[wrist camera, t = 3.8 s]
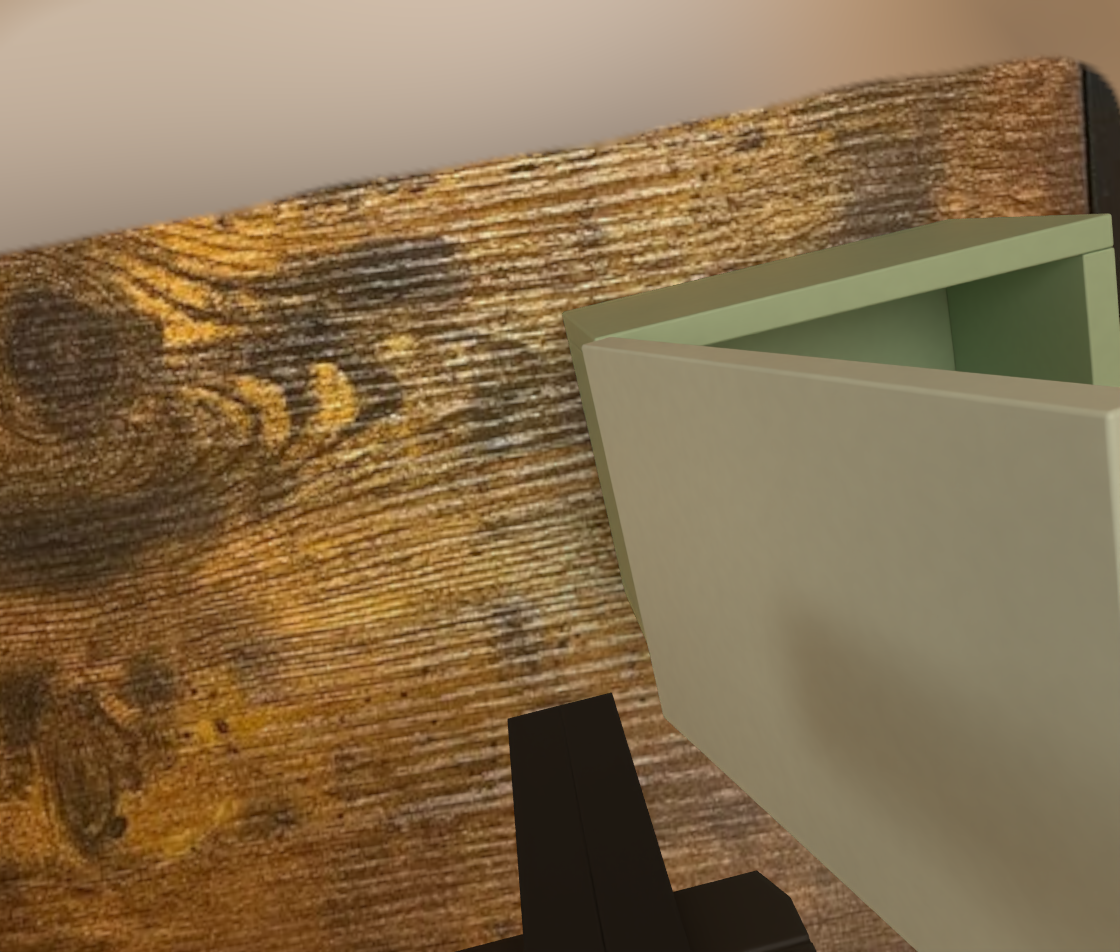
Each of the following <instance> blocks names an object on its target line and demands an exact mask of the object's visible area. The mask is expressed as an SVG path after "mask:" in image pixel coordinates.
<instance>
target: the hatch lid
mask: <svg viewBox="0 0 1120 952" xmlns="http://www.w3.org/2000/svg"><path fill="white" fill-rule="evenodd" d="M582 352H583V356H584V361H585V365H586V370H587V374H588V379H589V383H590V388H591V392H592V397H593V401H594V406H595V410H596V415H597V419H598V424H599V428H600V433H601V437H602V442H603V446H604V451H605V455H606V460H607V464H608V469H609V473H610V478H611V482H612V487H613V491H614V496H615V500H616V505H617V509H618V514H619V518H620V523H621V527H622V532H623V536H624V541H625V545H626V550H627V554H628V559H629V563H630V568H631V572H632V577H633V581H634V586H635V590H636V595H637V599H638V604H639V608H640V613H641V617H642V622H643V626H644V631H645V635H646V640H647V644H648V649H649V653H650V658H651V662H652V667H653V671H654V676H655V680H656V685H657V689H658V694H659V698H660V703H661V707H662V712H663V716H664V718H665V719H666V720H667V721H669V722H670V723H671V724H672V725H673V726H674V727H675V728H676V729H677V730H678V731H679V732H680V733H682V734H683V735H684V736H685V737H686V738H687V739H688V740H689V741H690V742H691V743H692V744H693V745H694V746H696V747H697V748H698V749H699V750H700V751H701V752H702V753H703V754H704V755H705V756H706V757H707V758H709V759H710V760H711V761H712V762H713V763H714V764H715V765H716V766H717V767H718V768H719V769H720V770H722V771H723V772H724V773H725V774H726V775H727V776H728V777H729V778H730V779H731V780H732V781H733V782H735V783H736V784H737V785H738V786H739V787H740V788H741V789H742V790H743V791H744V792H745V793H746V794H748V795H749V796H750V797H751V798H752V799H753V800H754V801H755V802H756V803H757V804H758V805H759V806H761V807H762V808H763V809H764V810H765V811H766V812H767V813H768V814H769V815H770V816H771V817H772V818H773V819H775V820H776V821H777V822H778V823H779V824H780V825H781V826H782V827H783V828H784V829H785V830H786V831H788V832H789V833H790V834H791V835H792V836H793V837H794V838H795V839H796V840H797V841H798V842H799V843H801V844H802V845H803V846H804V847H805V848H806V849H807V850H808V851H809V852H810V853H811V854H812V855H814V856H815V857H816V858H817V859H818V860H819V861H820V862H821V863H822V864H823V865H824V866H825V867H827V868H828V869H829V870H830V871H831V872H832V873H833V874H834V875H835V876H836V877H837V878H838V879H840V880H841V881H842V882H843V883H844V884H845V885H846V886H847V887H848V888H849V889H850V890H851V891H853V892H854V893H855V894H856V895H857V896H858V897H859V898H860V899H861V900H862V901H863V902H864V903H865V904H867V905H868V906H869V907H870V908H871V909H872V910H873V911H874V912H875V913H876V914H877V915H878V916H880V917H881V918H882V919H883V920H884V921H885V922H886V923H887V924H888V925H889V926H890V927H891V928H893V929H894V930H895V931H896V932H897V933H898V934H899V935H900V936H901V937H902V938H903V939H904V940H906V941H907V942H908V943H909V944H910V945H911V946H912V947H913V948H914V949H915V950H916V951H917V952H1120V387H1111V386H1101V385H1091V384H1081V383H1070V382H1060V381H1050V380H1040V379H1030V378H1020V377H1010V376H1000V375H990V374H980V373H969V372H959V371H949V370H939V369H929V368H919V367H909V366H899V365H889V364H879V363H869V362H858V361H848V360H838V359H828V358H818V357H808V356H798V355H788V354H778V353H768V352H758V351H747V350H737V349H727V348H717V347H707V346H697V345H687V344H677V343H667V342H657V341H646V340H636V339H626V338H616V337H608V338H604V339H601V340H597V341H594V342H590V343H587V344H584V345H582Z"/></svg>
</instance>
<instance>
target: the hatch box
mask: <svg viewBox="0 0 1120 952" xmlns="http://www.w3.org/2000/svg"><path fill="white" fill-rule="evenodd" d="M1112 246H1113V232H1112V218H1111V215H1110V214H1084V215H1056V216H1027V217H998V218H969V219H948V220H944V221H939V222H935V223H931V224H927V225H923V226H919V227H914V228H910V229H906V230H902V231H898V232H894V233H889V234H885V235H881V236H877V237H873V238H869V239H865V240H860V241H856V242H852V243H848V244H844V245H840V246H835V247H831V248H827V249H823V250H819V251H815V252H810V253H806V254H802V255H798V256H794V257H790V258H785V259H781V260H777V261H773V262H769V263H765V264H760V265H756V266H752V267H748V268H744V269H740V270H736V271H731V272H727V273H723V274H719V275H715V276H711V277H706V278H702V279H698V280H694V281H690V282H686V283H681V284H677V285H673V286H669V287H665V288H661V289H656V290H652V291H648V292H644V293H640V294H636V295H632V296H627V297H623V298H619V299H615V300H611V301H607V302H602V303H598V304H594V305H590V306H586V307H582V308H577V309H573V310H569V311H565V312H563V313H562V316H563V321H564V325H565V330H566V334H567V339H568V343H569V347H570V352H571V356H572V361H573V365H574V370H575V374H576V379H577V383H578V387H579V392H580V396H581V401H582V405H583V410H584V414H585V418H586V423H587V427H588V432H589V436H590V441H591V445H592V449H593V454H594V458H595V463H596V467H597V472H598V476H599V480H600V485H601V489H602V494H603V498H604V503H605V507H606V512H607V516H608V520H609V525H610V529H611V534H612V538H613V543H614V547H615V551H616V556H617V560H618V565H619V569H620V574H621V578H622V582H623V587H624V591H625V594H626V596H627V598H628V601H629V603H630V605H631V608H632V610H633V612H634V614H635V617H636V619H637V621H638V624H639V626H640V628H641V630H642V633H643V635H644V637H645V639H646V635H645V631H644V626H643V622H642V617H641V613H640V608H639V604H638V599H637V595H636V590H635V586H634V581H633V577H632V572H631V568H630V563H629V559H628V554H627V550H626V545H625V541H624V536H623V532H622V527H621V523H620V518H619V514H618V509H617V505H616V500H615V496H614V491H613V487H612V482H611V478H610V473H609V469H608V464H607V460H606V455H605V451H604V446H603V442H602V437H601V433H600V428H599V424H598V419H597V415H596V410H595V406H594V401H593V397H592V392H591V388H590V383H589V379H588V374H587V370H586V365H585V361H584V356H583V352H582V345H584V344H587V343H590V342H594V341H597V340H601V339H604V338H608V337H616V338H626V339H636V340H646V341H657V342H667V343H677V344H687V345H697V346H707V347H717V348H727V349H737V350H747V351H758V352H768V353H778V354H788V355H798V356H808V357H818V358H828V359H838V360H848V361H858V362H869V363H879V364H889V365H899V366H909V367H919V368H929V369H939V370H949V371H959V372H969V373H980V374H990V375H1000V376H1010V377H1020V378H1030V379H1040V380H1050V381H1060V382H1070V383H1081V384H1091V385H1101V386H1111V387H1120V324H1119V310H1118V296H1117V282H1116V268H1115V254H1114V248H1111V247H1112ZM646 642H647V640H646Z"/></svg>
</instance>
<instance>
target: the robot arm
mask: <svg viewBox="0 0 1120 952" xmlns="http://www.w3.org/2000/svg"><path fill="white" fill-rule="evenodd" d="M508 733H509V746H510V760H511V774H512V788H513V801H514V815H515V829H516V843H517V857H518V870H519V884H520V898H521V912H522V925H523V934H522V935H518V936H514V937H510V938H506V939H502V940H499V941H495V942H491V943H487V944H483V945H479V946H475V947H471V948H468V949H464V950H460V951H456V952H816V950H815V947H814V945H813V943H811V942H810V939H809V935H808V933H807V931H806V929H805V927H804V925H803V923H802V921H801V918H800V916H799V914H798V912H797V910H796V908H795V906H794V904H793V902H792V900H791V898H790V897H789V896H788V895H787V894H786V893H784V892H783V891H782V890H781V889H779V888H778V887H777V886H776V885H774V884H773V883H772V882H771V881H769V880H768V879H767V878H766V877H764V876H763V875H762V874H761V873H759V872H758V871H753V872H749V873H745V874H741V875H737V876H733V877H730V878H726V879H722V880H718V881H714V882H710V883H706V884H702V885H699V886H695V887H691V888H687V889H683V890H679V891H675V892H673V891H672V887H671V884H670V881H669V878H668V874H667V871H666V868H665V865H664V861H663V858H662V855H661V852H660V848H659V845H658V842H657V838H656V835H655V832H654V829H653V825H652V822H651V819H650V816H649V812H648V809H647V806H646V803H645V799H644V796H643V793H642V789H641V786H640V783H639V780H638V776H637V773H636V770H635V767H634V763H633V760H632V757H631V754H630V750H629V747H628V744H627V740H626V737H625V734H624V731H623V727H622V724H621V721H620V718H619V714H618V711H617V708H616V705H615V701H614V698H613V695H612V693H608V694H604V695H600V696H596V697H592V698H588V699H584V700H580V701H576V702H572V703H568V704H564V705H560V706H556V707H552V708H548V709H544V710H540V711H536V712H532V713H528V714H524V715H520V716H516V717H512V718H508Z"/></svg>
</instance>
